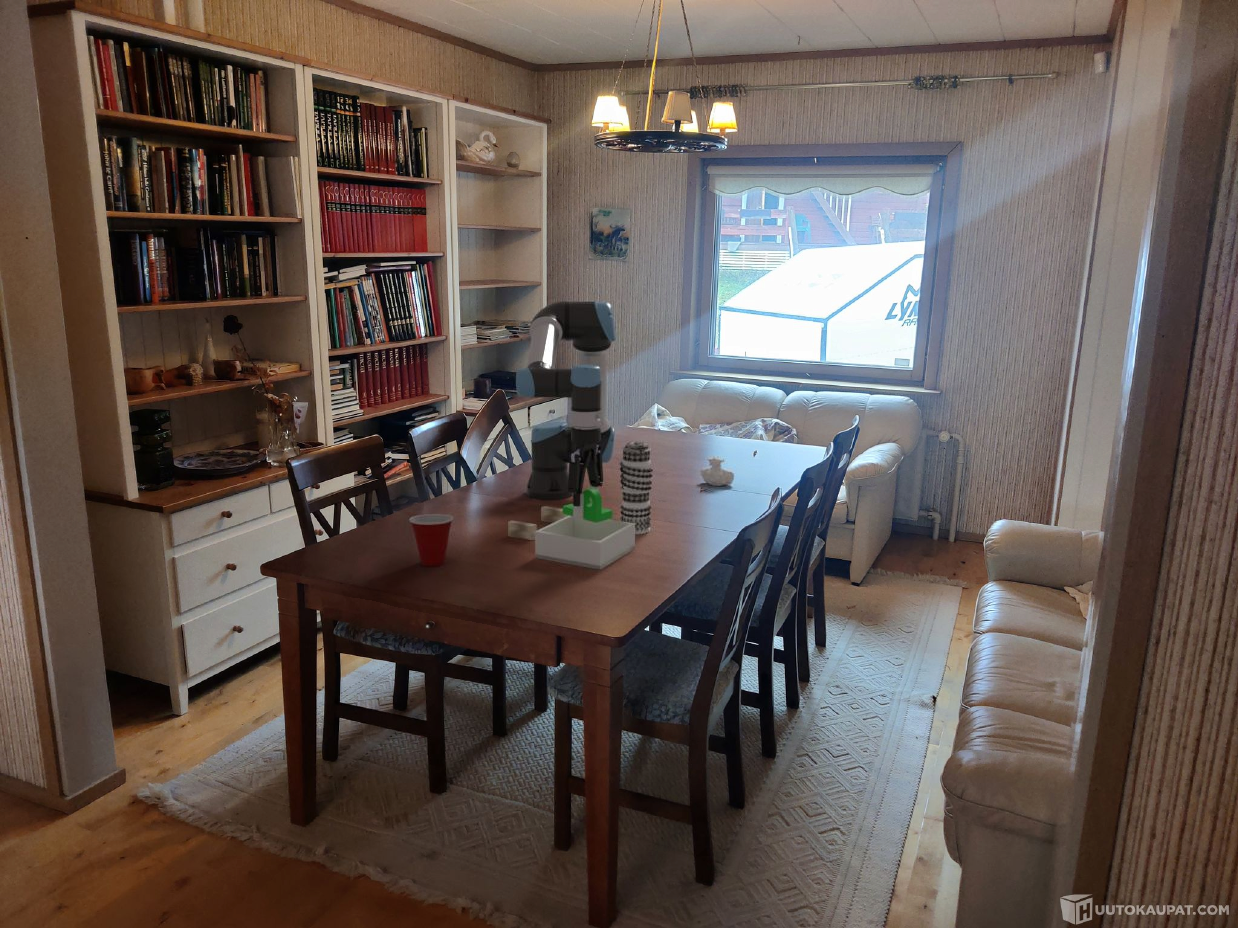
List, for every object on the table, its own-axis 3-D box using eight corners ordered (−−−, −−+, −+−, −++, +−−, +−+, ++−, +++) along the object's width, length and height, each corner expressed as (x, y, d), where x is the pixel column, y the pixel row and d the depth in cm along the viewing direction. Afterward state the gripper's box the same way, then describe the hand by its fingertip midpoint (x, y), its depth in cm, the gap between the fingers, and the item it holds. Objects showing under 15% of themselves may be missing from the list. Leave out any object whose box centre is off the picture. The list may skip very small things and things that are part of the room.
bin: (535, 557, 231) (535, 531, 229) (572, 538, 247) (572, 513, 246) (600, 569, 222) (600, 542, 221) (634, 548, 239) (635, 523, 237)
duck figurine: (699, 489, 310) (693, 468, 302) (704, 472, 314) (699, 451, 306) (732, 493, 305) (727, 472, 297) (738, 476, 310) (733, 454, 302)
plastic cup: (457, 555, 232) (456, 510, 229) (451, 569, 222) (450, 522, 219) (415, 555, 232) (413, 510, 229) (407, 569, 221) (405, 522, 219)
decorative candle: (614, 526, 258) (615, 441, 253) (644, 523, 261) (645, 439, 256) (625, 535, 250) (626, 447, 244) (656, 532, 253) (658, 445, 248)
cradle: (508, 536, 249) (508, 522, 248) (544, 519, 265) (544, 506, 264) (532, 540, 245) (532, 526, 244) (568, 522, 262) (568, 509, 261)
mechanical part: (612, 518, 231) (612, 487, 229) (596, 522, 226) (596, 491, 224) (578, 509, 238) (578, 479, 237) (562, 513, 234) (562, 483, 232)
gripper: (579, 434, 217) (579, 525, 222) (617, 422, 234) (616, 507, 239) (552, 431, 221) (553, 521, 226) (592, 419, 238) (591, 503, 243)
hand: (585, 514), depth 233 cm, fingers closed on mechanical part, 7 cm apart
